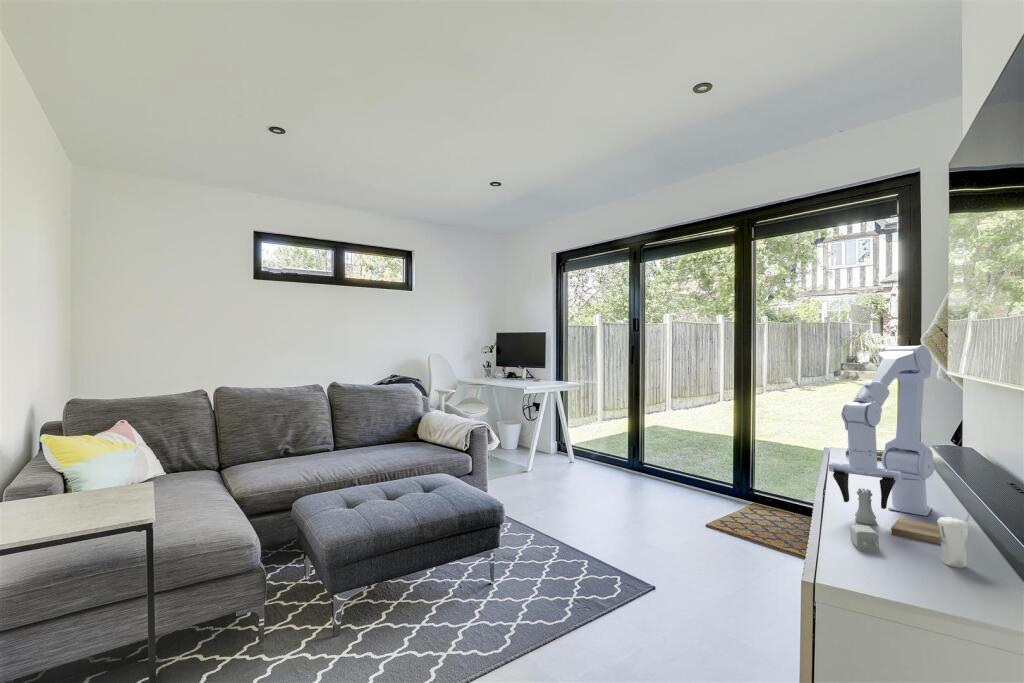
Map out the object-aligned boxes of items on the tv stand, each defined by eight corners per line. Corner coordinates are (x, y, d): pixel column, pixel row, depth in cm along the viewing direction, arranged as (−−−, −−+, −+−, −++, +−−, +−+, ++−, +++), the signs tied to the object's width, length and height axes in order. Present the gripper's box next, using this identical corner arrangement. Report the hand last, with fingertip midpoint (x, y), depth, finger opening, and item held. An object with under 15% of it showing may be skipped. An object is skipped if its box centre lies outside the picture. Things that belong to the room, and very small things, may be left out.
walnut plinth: (899, 523, 117) (899, 517, 117) (954, 534, 110) (954, 527, 110) (891, 534, 110) (891, 527, 110) (949, 546, 103) (949, 539, 103)
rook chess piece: (850, 519, 121) (848, 487, 121) (866, 518, 121) (865, 487, 121) (864, 525, 116) (863, 492, 117) (881, 524, 117) (880, 491, 117)
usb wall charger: (872, 544, 105) (871, 526, 105) (884, 556, 98) (883, 537, 99) (850, 542, 106) (850, 524, 106) (861, 554, 100) (860, 535, 100)
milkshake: (981, 570, 91) (978, 518, 92) (949, 568, 92) (946, 516, 93) (964, 560, 96) (961, 510, 96) (933, 559, 97) (931, 509, 97)
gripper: (824, 448, 122) (826, 501, 121) (896, 456, 111) (898, 514, 111) (832, 444, 127) (834, 496, 126) (901, 452, 116) (904, 508, 116)
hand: (864, 504), depth 119 cm, fingers open, 7 cm apart
